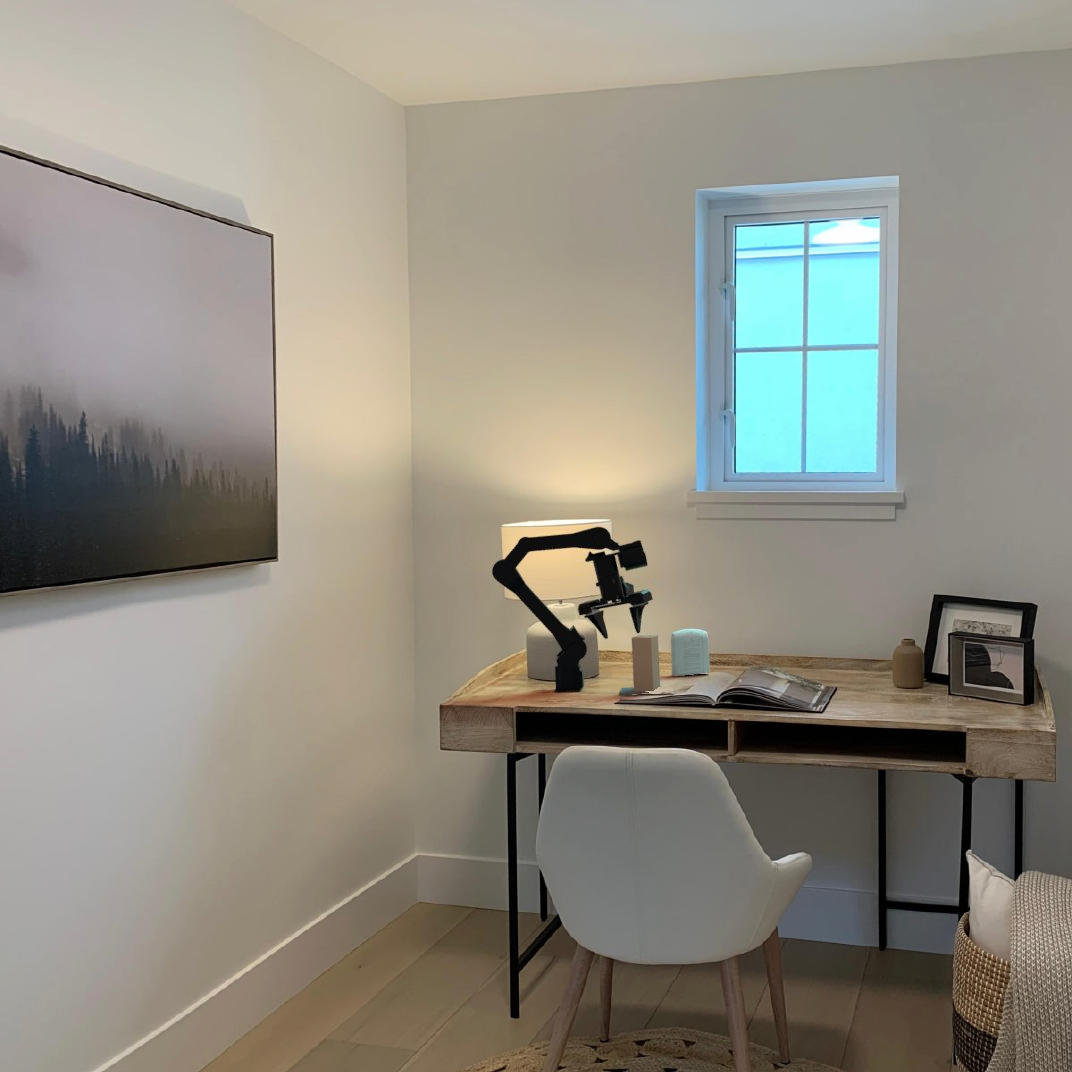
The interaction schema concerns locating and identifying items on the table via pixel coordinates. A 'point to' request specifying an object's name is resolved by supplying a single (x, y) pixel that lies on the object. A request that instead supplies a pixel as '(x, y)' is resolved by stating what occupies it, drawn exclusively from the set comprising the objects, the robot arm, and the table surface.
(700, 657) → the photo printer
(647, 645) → the beige rectangular block
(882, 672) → the table surface
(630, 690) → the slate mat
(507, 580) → the robot arm
